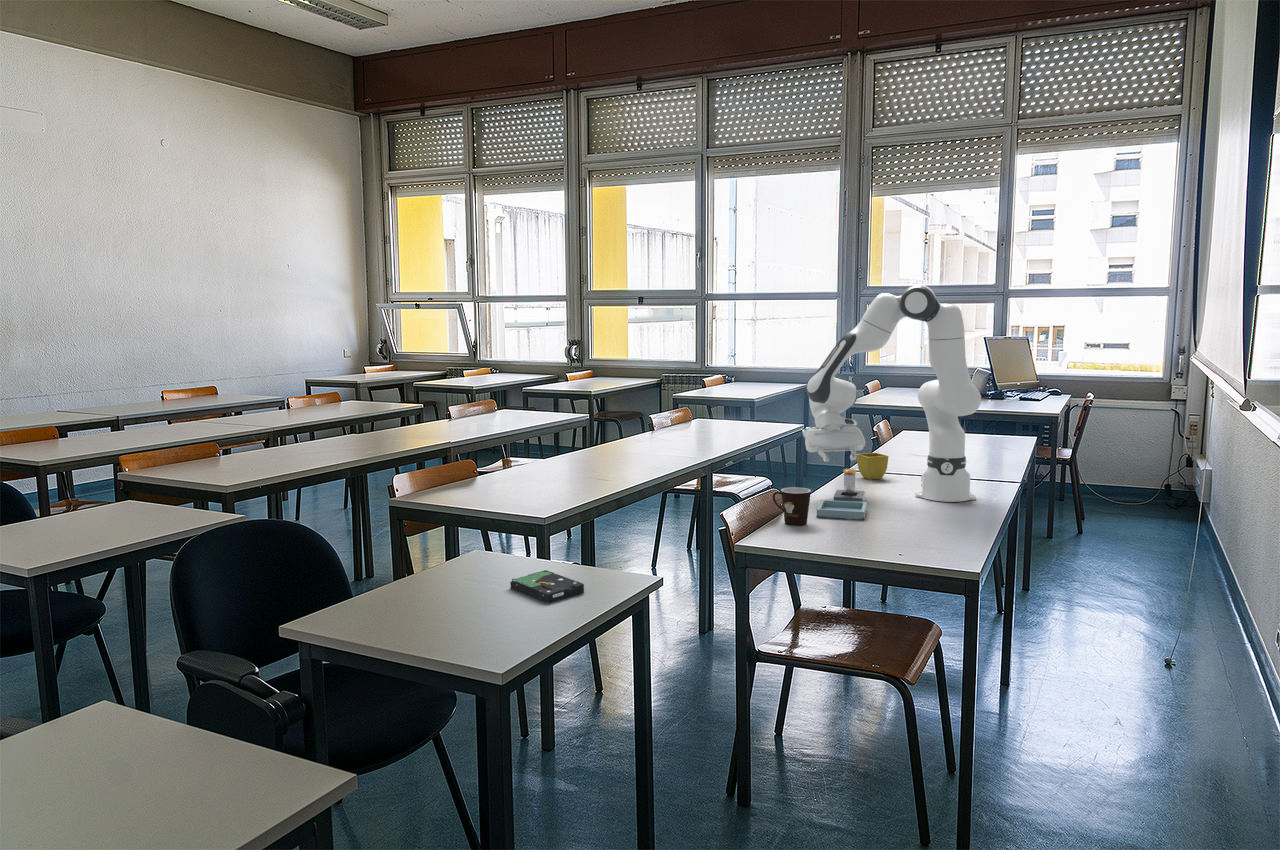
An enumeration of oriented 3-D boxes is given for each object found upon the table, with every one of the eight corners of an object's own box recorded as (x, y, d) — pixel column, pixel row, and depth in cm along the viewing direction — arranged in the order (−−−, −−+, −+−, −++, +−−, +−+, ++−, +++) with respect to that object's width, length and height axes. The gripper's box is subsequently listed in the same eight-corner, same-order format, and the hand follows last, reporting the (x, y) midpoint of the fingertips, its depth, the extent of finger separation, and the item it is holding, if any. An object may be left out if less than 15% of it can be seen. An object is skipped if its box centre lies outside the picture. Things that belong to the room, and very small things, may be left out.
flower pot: (855, 477, 320) (855, 453, 319) (875, 475, 323) (875, 452, 321) (868, 481, 312) (868, 457, 311) (888, 479, 314) (889, 455, 313)
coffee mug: (816, 525, 248) (816, 491, 246) (790, 528, 244) (791, 494, 243) (794, 516, 258) (795, 484, 257) (770, 519, 255) (770, 487, 254)
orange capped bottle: (843, 501, 279) (843, 468, 277) (856, 501, 278) (856, 468, 276) (842, 503, 275) (842, 470, 274) (855, 504, 274) (855, 471, 272)
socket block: (836, 498, 283) (836, 489, 283) (864, 499, 280) (864, 490, 280) (833, 506, 272) (833, 496, 272) (862, 507, 269) (862, 498, 269)
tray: (821, 507, 270) (821, 499, 270) (866, 509, 266) (866, 502, 266) (816, 517, 257) (816, 509, 257) (864, 520, 253) (864, 512, 252)
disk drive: (585, 595, 190) (545, 580, 201) (585, 583, 190) (545, 568, 200) (548, 606, 183) (509, 590, 194) (547, 594, 183) (509, 578, 194)
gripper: (803, 422, 287) (813, 455, 278) (860, 420, 290) (872, 453, 281) (798, 433, 292) (808, 466, 283) (855, 431, 295) (866, 464, 286)
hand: (840, 459), depth 282 cm, fingers open, 8 cm apart
